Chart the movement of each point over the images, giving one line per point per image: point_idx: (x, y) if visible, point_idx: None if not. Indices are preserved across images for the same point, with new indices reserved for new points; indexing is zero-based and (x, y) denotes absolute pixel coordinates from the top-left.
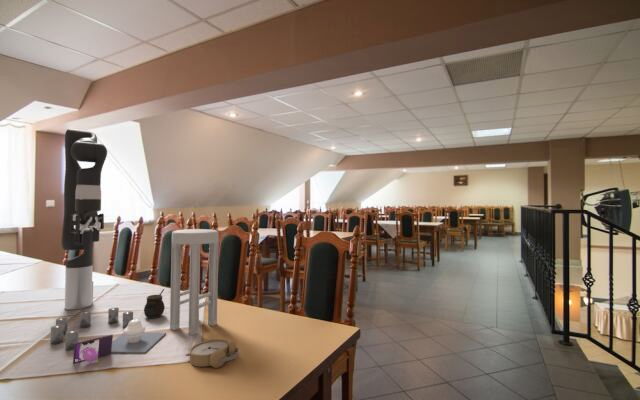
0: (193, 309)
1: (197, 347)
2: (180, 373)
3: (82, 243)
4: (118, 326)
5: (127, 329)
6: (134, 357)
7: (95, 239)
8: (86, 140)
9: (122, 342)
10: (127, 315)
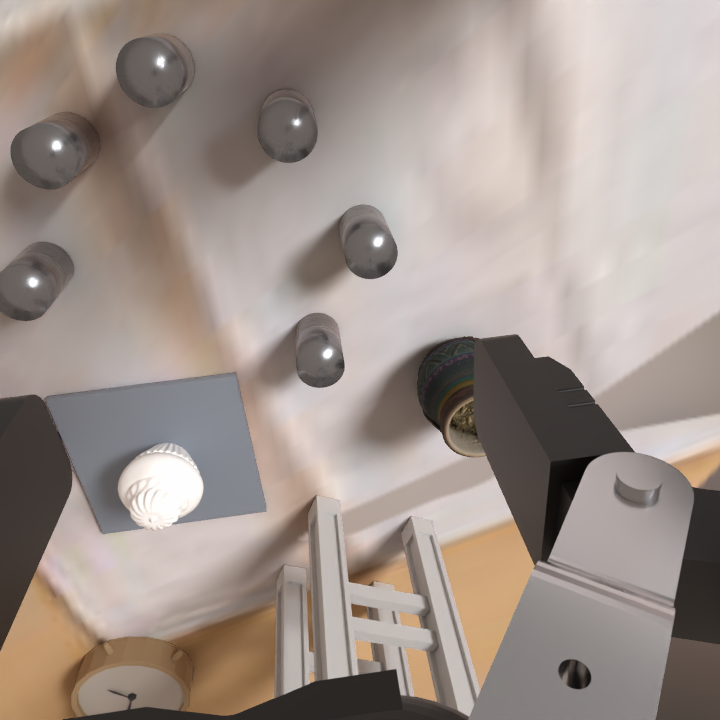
0: (275, 665)
1: (134, 667)
2: (36, 652)
3: (54, 494)
4: (313, 290)
5: (126, 490)
6: (69, 517)
7: (484, 412)
8: None
9: (144, 428)
10: (300, 374)
